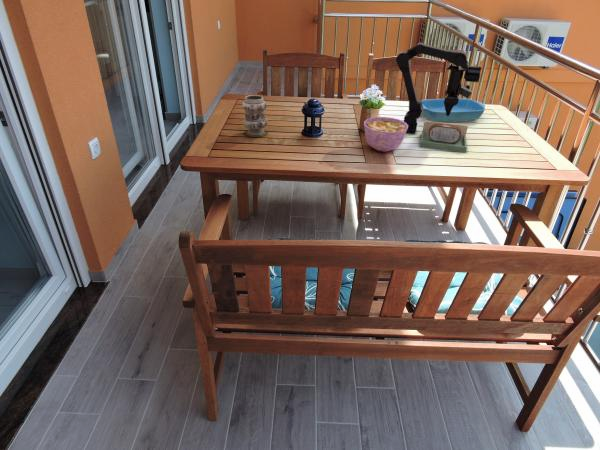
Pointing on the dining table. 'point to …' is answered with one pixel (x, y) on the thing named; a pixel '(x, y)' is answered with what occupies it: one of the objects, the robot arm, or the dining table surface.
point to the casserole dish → (459, 112)
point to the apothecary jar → (254, 115)
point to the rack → (428, 143)
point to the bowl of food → (384, 132)
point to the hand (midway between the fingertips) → (447, 112)
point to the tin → (444, 133)
